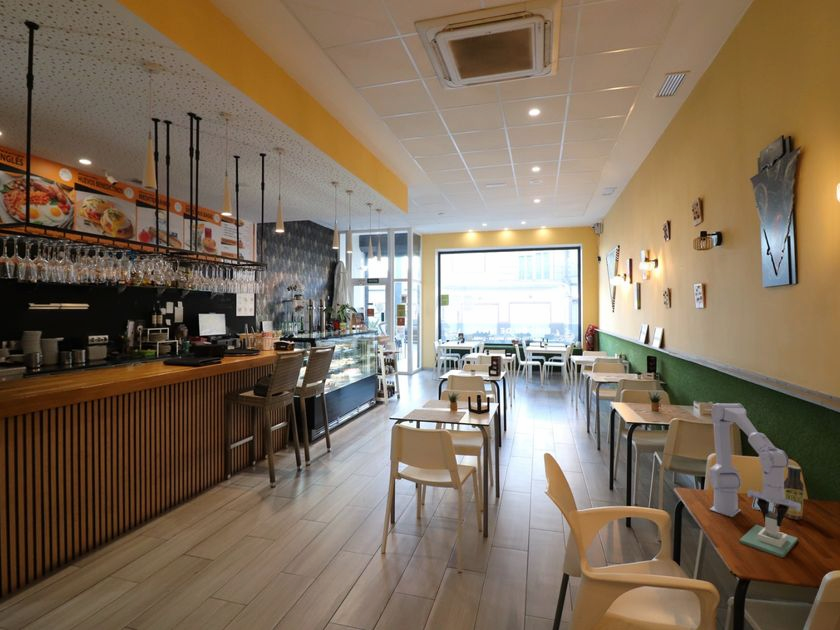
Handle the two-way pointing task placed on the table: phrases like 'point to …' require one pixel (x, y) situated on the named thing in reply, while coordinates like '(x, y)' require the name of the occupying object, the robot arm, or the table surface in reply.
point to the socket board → (769, 541)
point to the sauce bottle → (794, 491)
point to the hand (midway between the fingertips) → (772, 523)
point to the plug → (771, 523)
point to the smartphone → (756, 507)
